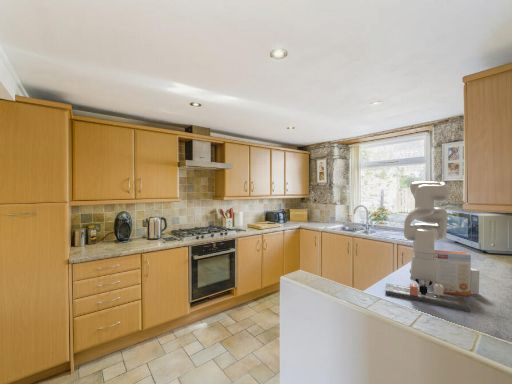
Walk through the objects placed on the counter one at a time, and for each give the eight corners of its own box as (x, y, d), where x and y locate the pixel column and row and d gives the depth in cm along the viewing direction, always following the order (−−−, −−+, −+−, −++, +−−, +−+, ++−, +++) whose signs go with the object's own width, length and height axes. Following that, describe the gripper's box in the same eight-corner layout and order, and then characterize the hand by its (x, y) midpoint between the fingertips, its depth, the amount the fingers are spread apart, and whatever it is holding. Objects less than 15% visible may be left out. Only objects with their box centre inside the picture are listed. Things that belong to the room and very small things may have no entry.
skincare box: (460, 289, 127) (461, 266, 127) (469, 289, 127) (469, 266, 127) (470, 293, 121) (471, 270, 121) (479, 294, 121) (480, 270, 121)
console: (386, 286, 128) (386, 282, 128) (463, 301, 112) (463, 297, 112) (385, 294, 118) (385, 290, 118) (470, 311, 102) (470, 306, 102)
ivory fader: (434, 291, 118) (434, 283, 118) (441, 292, 116) (441, 284, 116) (435, 294, 114) (435, 285, 114) (443, 295, 113) (443, 287, 113)
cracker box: (464, 292, 123) (465, 251, 123) (470, 297, 117) (471, 254, 117) (432, 288, 127) (433, 249, 127) (436, 292, 122) (437, 251, 121)
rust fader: (409, 291, 117) (409, 283, 117) (416, 293, 115) (417, 284, 115) (410, 294, 113) (410, 286, 113) (417, 296, 112) (417, 287, 112)
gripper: (442, 256, 112) (441, 294, 112) (405, 251, 119) (404, 287, 119) (445, 259, 105) (444, 301, 105) (405, 254, 113) (405, 293, 113)
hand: (423, 294), depth 112 cm, fingers closed
